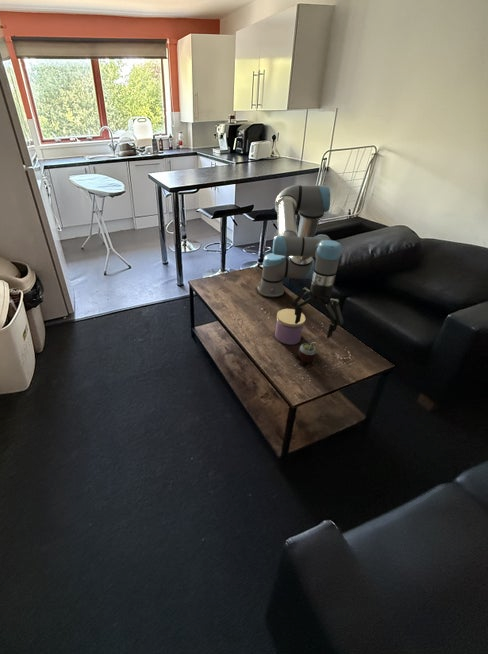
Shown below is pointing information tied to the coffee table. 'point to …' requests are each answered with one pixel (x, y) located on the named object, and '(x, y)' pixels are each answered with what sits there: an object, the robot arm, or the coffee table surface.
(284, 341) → the jar
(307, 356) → the mate gourd
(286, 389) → the coffee table surface
